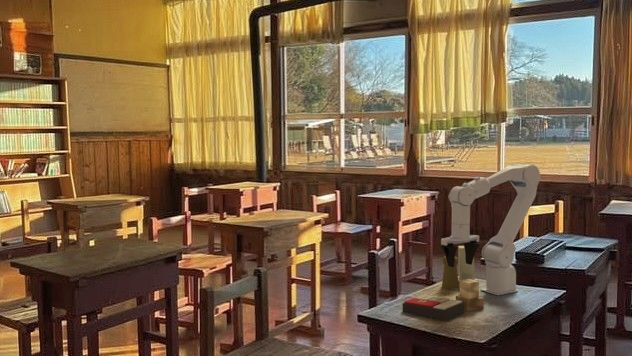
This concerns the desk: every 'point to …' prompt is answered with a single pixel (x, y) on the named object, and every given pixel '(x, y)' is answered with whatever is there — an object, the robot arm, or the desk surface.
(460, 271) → the box
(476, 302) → the walnut base
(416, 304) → the calculator
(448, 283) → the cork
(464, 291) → the beech block
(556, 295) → the desk surface
